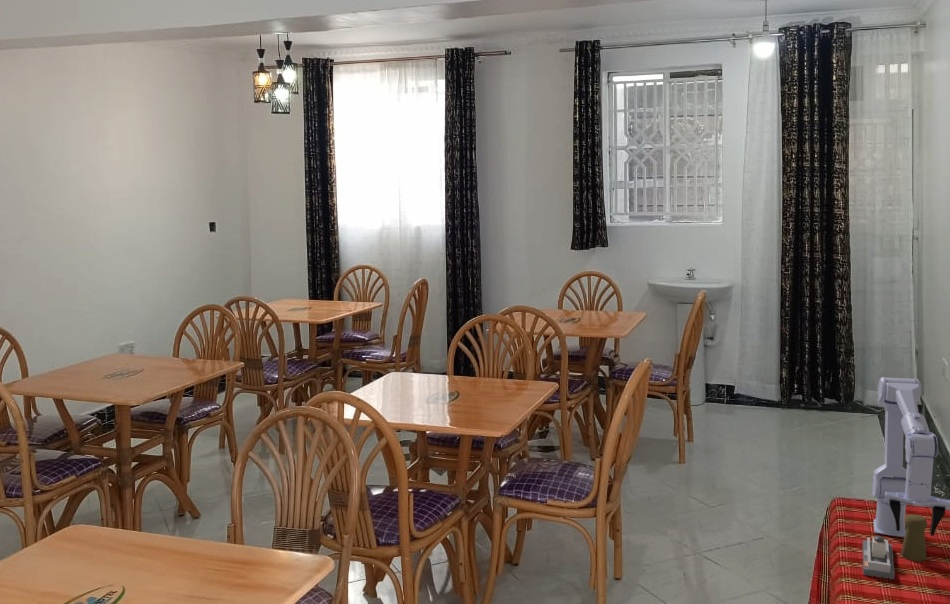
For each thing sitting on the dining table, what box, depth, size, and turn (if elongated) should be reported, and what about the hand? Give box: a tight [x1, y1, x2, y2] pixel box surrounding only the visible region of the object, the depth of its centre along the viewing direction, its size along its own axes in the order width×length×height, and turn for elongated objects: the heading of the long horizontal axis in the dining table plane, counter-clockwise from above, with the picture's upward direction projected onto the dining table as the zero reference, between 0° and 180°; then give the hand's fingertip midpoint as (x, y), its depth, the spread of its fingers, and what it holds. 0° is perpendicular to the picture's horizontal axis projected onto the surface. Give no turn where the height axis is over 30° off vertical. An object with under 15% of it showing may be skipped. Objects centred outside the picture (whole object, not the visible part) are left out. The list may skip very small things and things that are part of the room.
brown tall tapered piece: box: [900, 514, 928, 562], centre depth 224 cm, size 6×6×11 cm
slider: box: [871, 535, 886, 559], centre depth 222 cm, size 3×3×5 cm
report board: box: [862, 537, 895, 580], centre depth 222 cm, size 18×7×4 cm, turn 156°
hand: (914, 531), depth 216 cm, fingers open, 7 cm apart
